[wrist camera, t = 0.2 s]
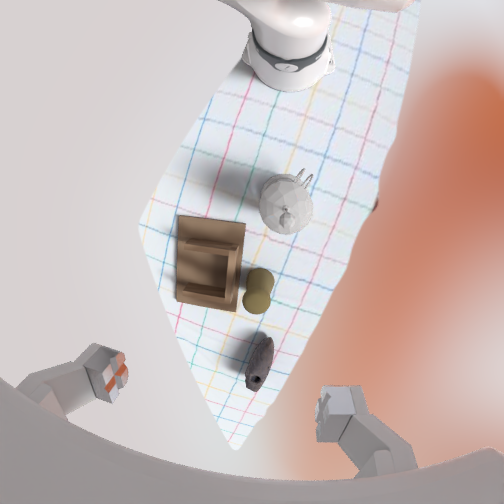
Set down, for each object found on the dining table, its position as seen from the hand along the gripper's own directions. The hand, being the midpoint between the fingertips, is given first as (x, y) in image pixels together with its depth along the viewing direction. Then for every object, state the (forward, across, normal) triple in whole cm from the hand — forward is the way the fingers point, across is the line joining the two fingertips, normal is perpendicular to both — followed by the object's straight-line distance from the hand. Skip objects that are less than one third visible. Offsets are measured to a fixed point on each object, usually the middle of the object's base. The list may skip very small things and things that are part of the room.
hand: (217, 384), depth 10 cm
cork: (+48, 0, +16) cm, 50 cm away
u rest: (+47, +12, +13) cm, 51 cm away
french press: (+48, -3, -3) cm, 48 cm away
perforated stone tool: (+48, -2, +36) cm, 60 cm away
